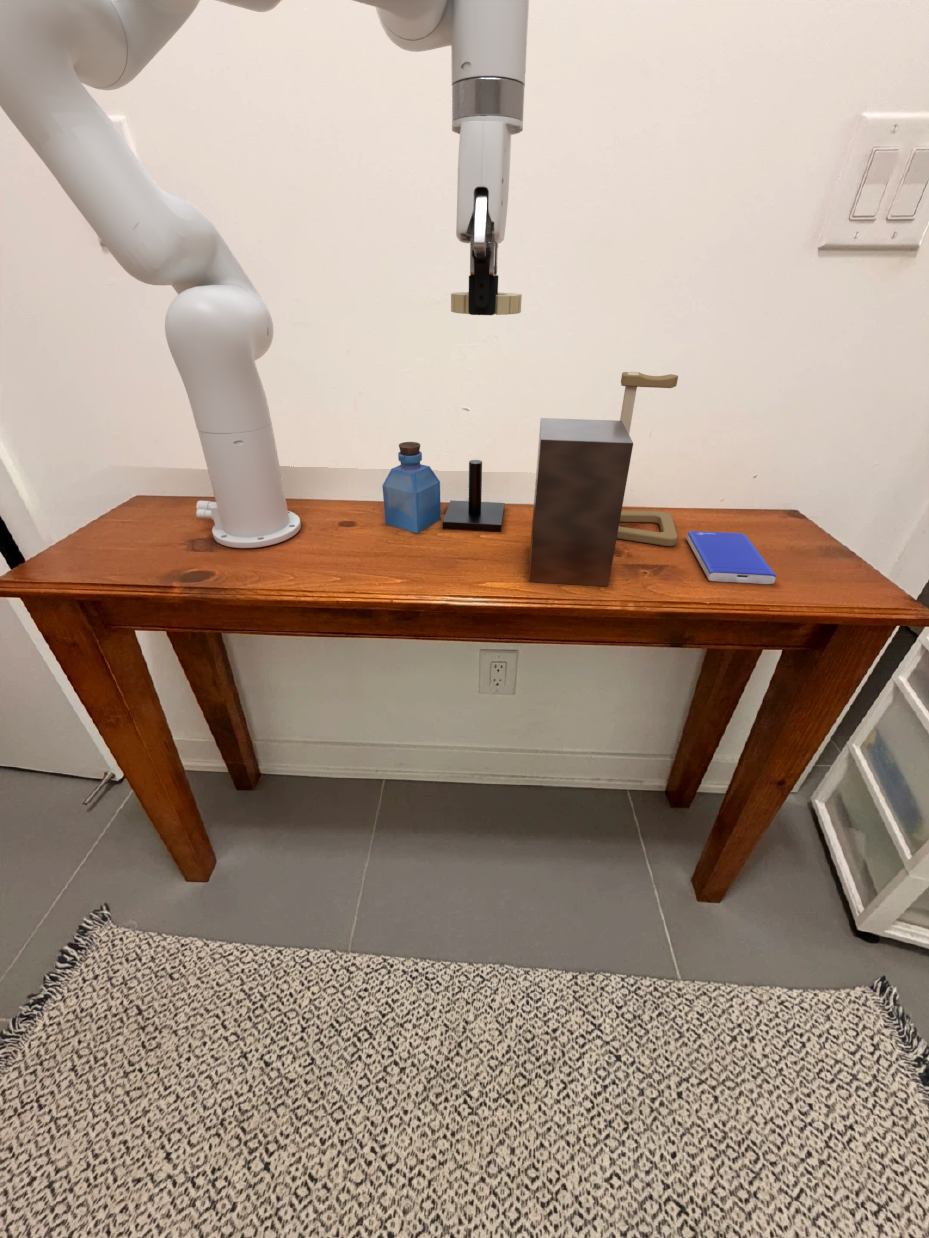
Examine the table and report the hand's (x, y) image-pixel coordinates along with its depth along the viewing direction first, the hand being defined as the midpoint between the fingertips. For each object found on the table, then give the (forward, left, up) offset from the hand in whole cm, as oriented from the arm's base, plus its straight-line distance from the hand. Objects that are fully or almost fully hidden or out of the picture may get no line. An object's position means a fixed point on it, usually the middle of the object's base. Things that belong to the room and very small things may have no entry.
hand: (483, 312), depth 67 cm
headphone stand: (+24, +4, -29) cm, 38 cm away
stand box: (+13, -10, -29) cm, 33 cm away
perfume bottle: (-10, +2, -29) cm, 31 cm away
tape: (0, +3, 0) cm, 3 cm away
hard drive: (+35, -5, -29) cm, 46 cm away
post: (-1, +5, -29) cm, 29 cm away
